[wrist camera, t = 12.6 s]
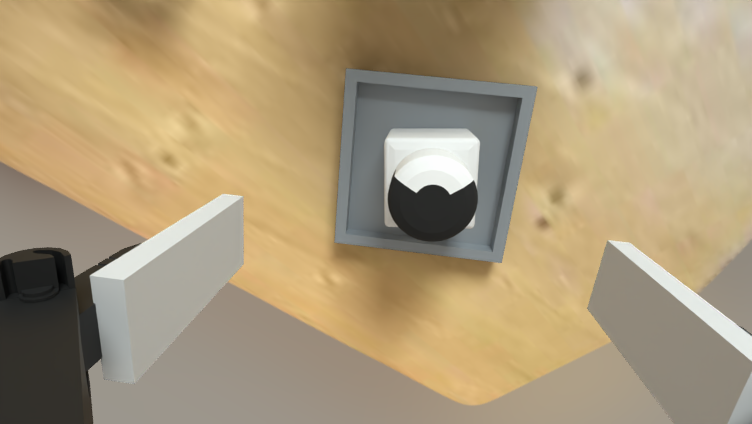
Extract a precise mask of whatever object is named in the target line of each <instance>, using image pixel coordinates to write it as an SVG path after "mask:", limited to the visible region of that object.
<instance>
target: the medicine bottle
mask: <svg viewBox="0 0 752 424" xmlns="http://www.w3.org/2000/svg"><path fill="white" fill-rule="evenodd" d="M479 150H480V141H479V139H478V138H477V137H476V136H474V135H473V134H472V133H471V132H470V131H469V130H468V129H466V128H394V129H391V130H390V132H389V134H388V135H387V137H386V139H385V142H384V214H385V225H386V226H388V227H399V228H400V229H401V230H402V231H403V232H404V233H406V234H407V235H409V236H411V237H413V238H415V239H418V240H422V241H428V242H436V241H443V240H446V239H449V238H452V237H454V236H455V235H457V234H459V233H460V232H461V231H463V230H464V229H471V228H473V227H474V224H475V212H476V209H477V204H478V191H477V180H478V165H479Z"/></svg>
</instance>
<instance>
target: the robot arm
mask: <svg viewBox="0 0 752 424" xmlns="http://www.w3.org/2000/svg"><path fill="white" fill-rule="evenodd" d="M243 264H244V235H243V196H237V195H228V194H222V195H220V196H219V197H217V198H216V199H214V200H212V201H211V202H209V203H207V204H206V205H204V206H202V207H201V208H199V209H198V210H196V211H194V212H193V213H191V214H189V215H188V216H186V217H184V218H183V219H181V220H180V221H178V222H176V223H175V224H173V225H171V226H170V227H168V228H167V229H165V230H163V231H162V232H160V233H158V234H157V235H155V236H153V237H152V238H150V239H149V240H147V241H145V242H144V243H140V244H137V245H134V246H130V247H127V248H124V249H122V250H120V251H119V252H117V253H115V254H113V255H112V256H110V257H109V259H105V260H103V261H102V262H100V263H98V265H95V266H93V267H92V268H90V269H88V270H86V271H85V272H83V273H81V274H80V275H78V276H76V277H75V278H74V273H73V266H72V259H71V254H70V253H69V252H68V251H66V250H63V249H61V248H48V247H47V248H33V249H27V250H22V251H18V252H14V253H11V254H8V255H5V256H3V257H1V258H0V424H93V416H92V404H91V391H90V381H89V374H88V370H89V369H90V368H91V367H92V366H93V365H94V364H95V363H96V362H98V361H99V360H100V359H101V363H102V371H103V378H104V380H111V381H118V382H125V383H132V384H135V383H136V382H137V381H138V380H139V379H140V378H141V376H142V375H143V374H144V373H145V372H146V371H147V370H148V369H149V368H150V366H151V365H152V364H153V363H154V362H155V361H156V360H157V359H158V357H160V355H161V354H162V353H163V352H164V351H165V350H166V349H167V348H168V347H169V346H170V345H171V343H172V342H173V341H174V340H175V339H176V338H177V337H178V336H179V335H180V333H181V332H182V331H183V330H184V329H185V328H186V327H187V326H188V325H189V324H190V323H191V321H192V320H193V319H194V318H195V317H196V316H197V315H198V314H199V313H200V312H201V310H202V309H203V308H204V307H205V306H206V305H207V304H208V303H209V302H210V300H211V299H212V298H213V297H214V296H215V295H216V294H217V293H218V292H219V291H220V290H221V288H222V287H223V286H224V285H225V284H226V283H227V282H228V281H229V280H230V279H231V277H232V276H233V275H234V274H235V273H236V272H237V271H238V270H239V269H240V268H241V266H242V265H243ZM587 309H588V310H589V312H590V313H591V314H592V316H593V317H594V318H595V320H596V321H597V322H598V324H599V325H600V326H601V328H602V329H603V330H604V332H605V333H606V334H607V335H608V337H609V338H610V339H611V341H612V342H613V343H614V345H615V346H616V347H617V349H618V350H619V351H620V353H621V354H622V355H623V357H624V358H625V359H626V361H627V362H628V363H629V365H630V366H631V367H632V369H633V370H634V371H635V373H636V374H637V375H638V376H639V378H640V379H641V381H642V382H643V383H644V385H645V386H646V387H647V389H648V390H649V391H650V393H651V394H652V395H653V396H654V398H655V399H656V401H657V402H658V403H659V405H660V406H661V407H662V409H663V410H664V411H665V413H666V414H667V415H668V417H669V418H670V419H671V421H672V422H673V423H674V424H752V334H750V333H749V332H748V331H746V330H745V329H744V328H742V327H740V326H738V325H737V324H735V323H734V322H732V321H731V320H730V319H729V318H727V317H726V316H725V315H723V314H722V313H721V312H719V311H718V310H717V309H715V308H714V307H713V306H712V305H710V304H709V303H708V302H706V301H705V300H704V299H702V298H701V297H700V296H698V295H697V294H696V293H695V292H693V291H692V290H691V289H689V288H688V287H687V286H685V285H684V284H683V283H681V282H680V281H679V280H678V279H676V278H675V277H674V276H672V275H671V274H670V273H668V272H667V271H666V270H664V269H663V268H662V267H661V266H659V265H658V264H657V263H655V262H654V261H653V260H651V259H650V258H649V257H648V256H646V255H645V254H644V253H642V252H641V251H640V250H638V249H637V248H636V247H634V246H633V245H632V244H631V243H626V242H618V241H610V240H607V244H606V247H605V250H604V254H603V257H602V260H601V264H600V267H599V270H598V274H597V277H596V280H595V284H594V287H593V291H592V294H591V297H590V301H589V304H588V307H587Z"/></svg>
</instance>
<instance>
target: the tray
mask: <svg viewBox="0 0 752 424" xmlns="http://www.w3.org/2000/svg"><path fill="white" fill-rule="evenodd" d="M536 92H537V87H536V86H526V85H515V84H505V83H494V82H484V81H473V80H463V79H452V78H442V77H431V76H421V75H410V74H400V73H389V72H379V71H368V70H358V69H347V68H346V76H345V91H344V106H343V122H342V137H341V152H340V168H339V183H338V198H337V214H336V229H335V243H342V244H351V245H359V246H367V247H375V248H383V249H391V250H400V251H408V252H416V253H424V254H432V255H440V256H449V257H457V258H465V259H473V260H481V261H489V262H498V263H502V259H503V254H504V249H505V244H506V239H507V234H508V229H509V224H510V219H511V214H512V209H513V205H514V200H515V195H516V190H517V185H518V180H519V175H520V170H521V165H522V160H523V155H524V150H525V146H526V141H527V136H528V131H529V126H530V121H531V116H532V111H533V106H534V101H535V96H536ZM394 128H466V129H468V130H469V131H470V132H471V133H472V134H473V135H474V136H476V137H477V138H478V139H479V141H480V150H479V165H478V180H477V191H478V204H477V209H476V212H475V224H474V227H473V228H471V229H464V230H463V231H461V232H460V233H459V234H457V235H455V236H454V237H452V238H449V239H446V240H443V241H436V242H428V241H422V240H418V239H415V238H413V237H411V236H409V235H407V234H406V233H404V232H403V231H402V230H401V229H400V228H399V227H388V226H386V225H385V214H384V142H385V139H386V137H387V135H388V134H389V132H390V130H391V129H394Z"/></svg>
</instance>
